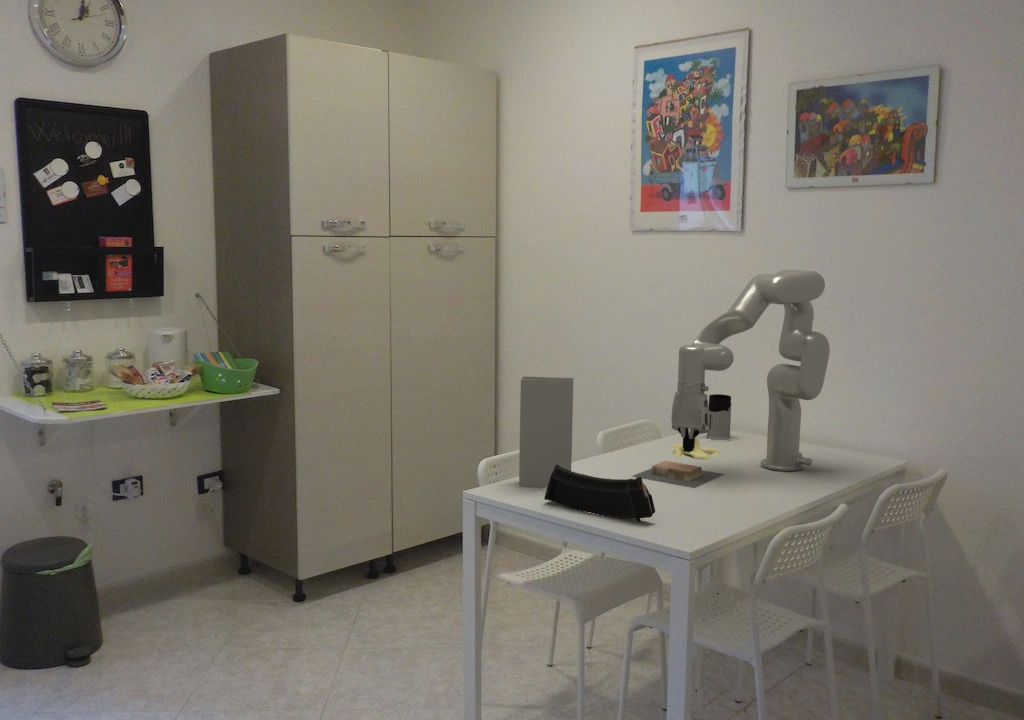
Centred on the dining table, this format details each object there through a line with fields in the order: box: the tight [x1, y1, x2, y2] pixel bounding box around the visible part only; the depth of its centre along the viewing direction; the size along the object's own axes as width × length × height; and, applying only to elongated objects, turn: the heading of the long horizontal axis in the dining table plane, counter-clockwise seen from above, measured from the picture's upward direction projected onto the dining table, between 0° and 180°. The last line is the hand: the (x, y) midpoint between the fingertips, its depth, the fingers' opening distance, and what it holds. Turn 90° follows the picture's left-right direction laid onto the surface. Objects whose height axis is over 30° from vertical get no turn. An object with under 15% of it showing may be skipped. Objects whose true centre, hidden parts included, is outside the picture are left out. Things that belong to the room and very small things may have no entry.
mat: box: [631, 467, 725, 489], centre depth 273 cm, size 20×20×1 cm
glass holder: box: [705, 393, 732, 441], centre depth 326 cm, size 9×14×15 cm, turn 92°
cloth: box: [667, 436, 721, 460], centre depth 303 cm, size 22×19×6 cm
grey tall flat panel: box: [518, 376, 574, 488], centre depth 260 cm, size 14×6×30 cm, turn 84°
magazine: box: [544, 465, 656, 523], centre depth 235 cm, size 17×3×30 cm
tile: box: [651, 460, 703, 481], centre depth 273 cm, size 3×8×12 cm
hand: (688, 451), depth 270 cm, fingers closed
